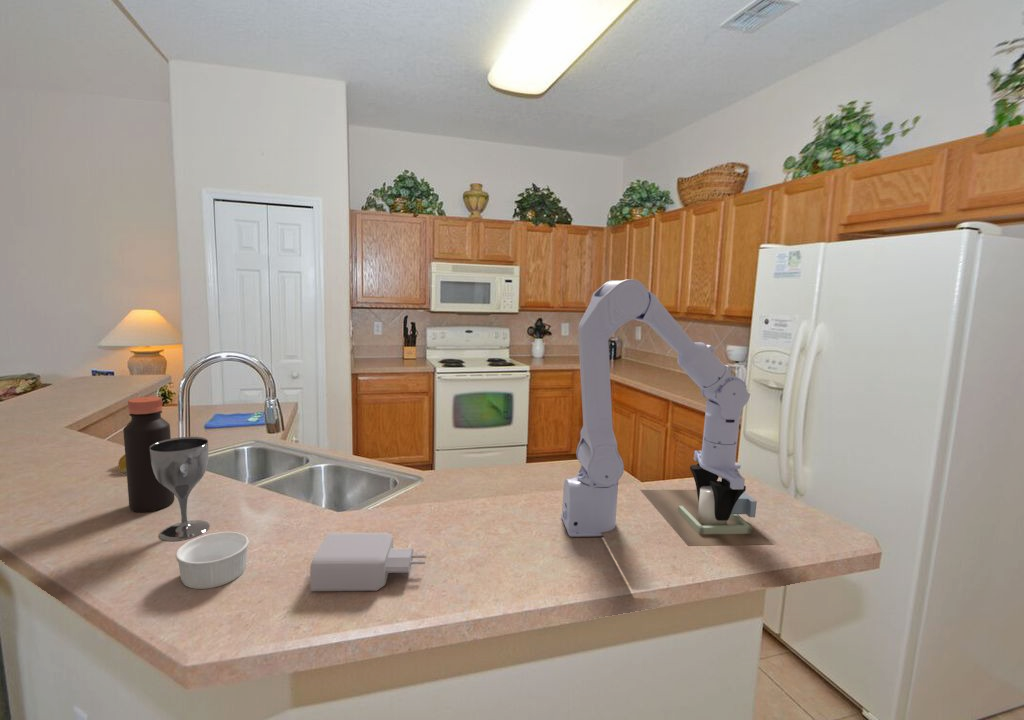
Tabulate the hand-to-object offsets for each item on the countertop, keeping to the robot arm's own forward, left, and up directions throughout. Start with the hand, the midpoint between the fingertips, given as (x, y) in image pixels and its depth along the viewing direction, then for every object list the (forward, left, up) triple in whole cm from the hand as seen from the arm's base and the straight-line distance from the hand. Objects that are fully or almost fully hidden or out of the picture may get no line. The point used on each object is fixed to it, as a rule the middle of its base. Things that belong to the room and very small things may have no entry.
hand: (713, 511), depth 91 cm
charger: (-59, -14, -3) cm, 60 cm away
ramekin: (-81, -13, -3) cm, 82 cm away
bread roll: (-117, +30, -3) cm, 121 cm away
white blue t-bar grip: (+2, 0, -2) cm, 3 cm away
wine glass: (-92, 0, -3) cm, 92 cm away
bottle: (-103, +10, -3) cm, 104 cm away
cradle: (0, 0, -2) cm, 2 cm away
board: (-1, +3, -3) cm, 4 cm away
